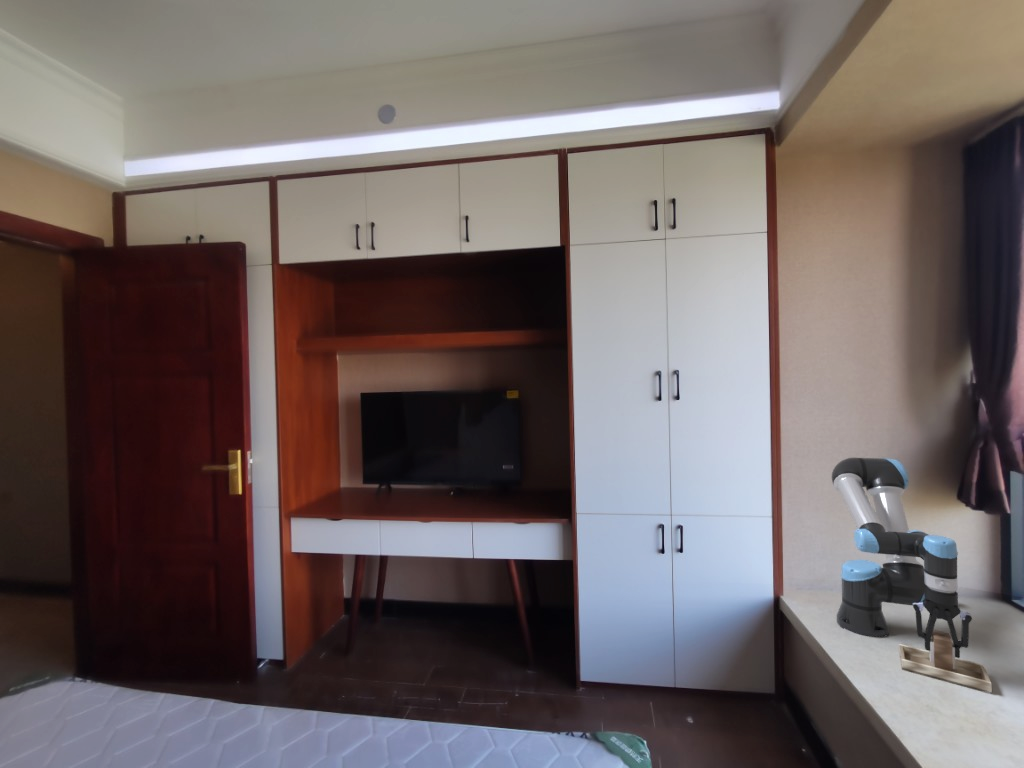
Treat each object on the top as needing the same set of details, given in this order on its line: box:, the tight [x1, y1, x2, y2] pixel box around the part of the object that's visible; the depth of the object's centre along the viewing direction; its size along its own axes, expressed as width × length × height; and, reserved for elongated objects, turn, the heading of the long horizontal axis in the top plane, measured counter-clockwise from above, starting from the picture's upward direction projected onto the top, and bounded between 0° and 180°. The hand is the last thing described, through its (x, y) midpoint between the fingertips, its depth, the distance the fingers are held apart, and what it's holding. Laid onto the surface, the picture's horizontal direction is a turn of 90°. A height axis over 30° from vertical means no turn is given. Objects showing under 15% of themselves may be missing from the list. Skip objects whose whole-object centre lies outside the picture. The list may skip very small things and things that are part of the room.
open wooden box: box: [898, 643, 993, 694], centre depth 141 cm, size 20×11×3 cm, turn 53°
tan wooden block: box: [931, 629, 953, 672], centre depth 141 cm, size 4×6×9 cm, turn 143°
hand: (942, 663), depth 141 cm, fingers closed on tan wooden block, 4 cm apart
